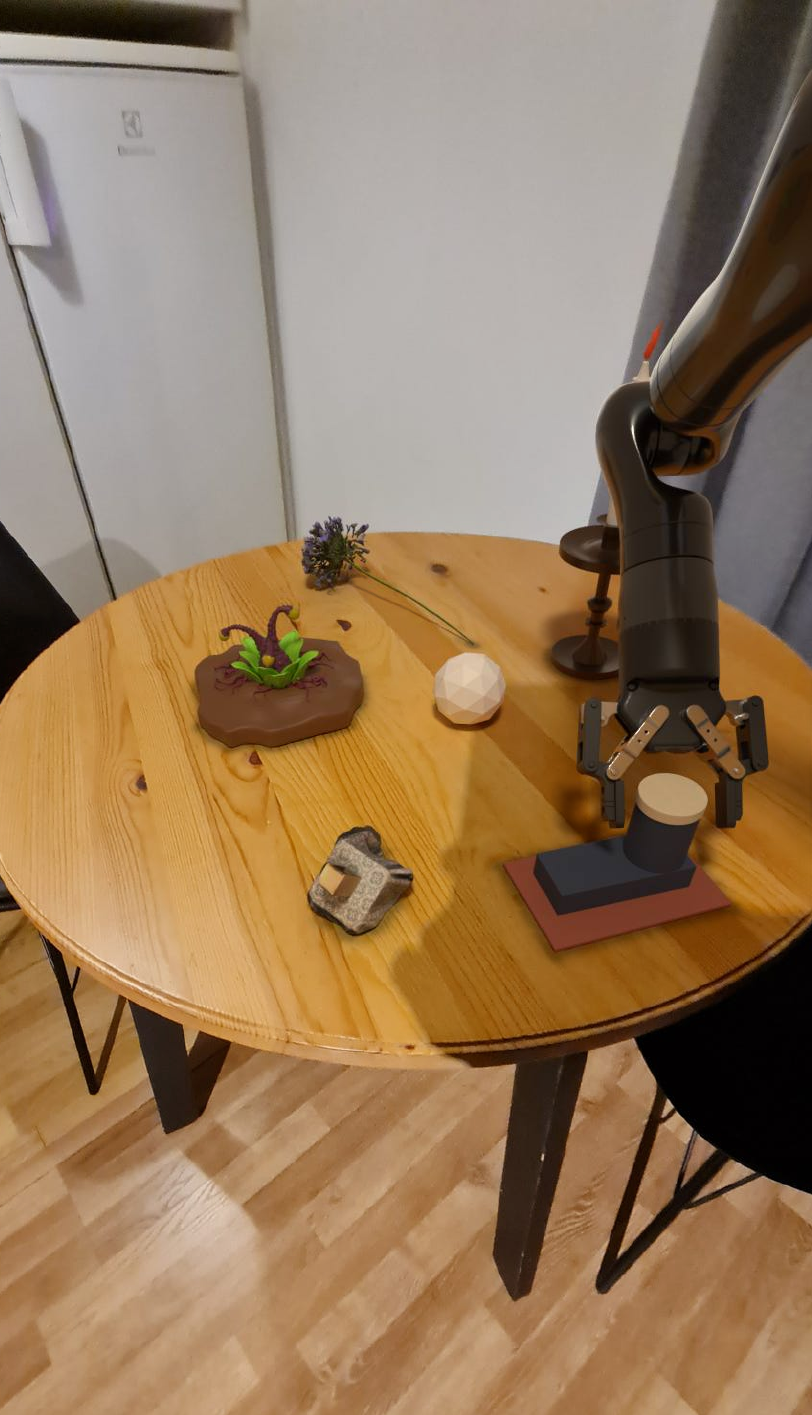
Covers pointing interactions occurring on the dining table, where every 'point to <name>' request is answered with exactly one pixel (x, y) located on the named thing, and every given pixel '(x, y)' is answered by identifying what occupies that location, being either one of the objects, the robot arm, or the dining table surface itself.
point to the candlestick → (602, 556)
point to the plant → (277, 687)
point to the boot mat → (612, 908)
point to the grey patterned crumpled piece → (358, 882)
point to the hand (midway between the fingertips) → (671, 828)
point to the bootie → (630, 851)
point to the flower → (339, 555)
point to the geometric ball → (469, 688)
